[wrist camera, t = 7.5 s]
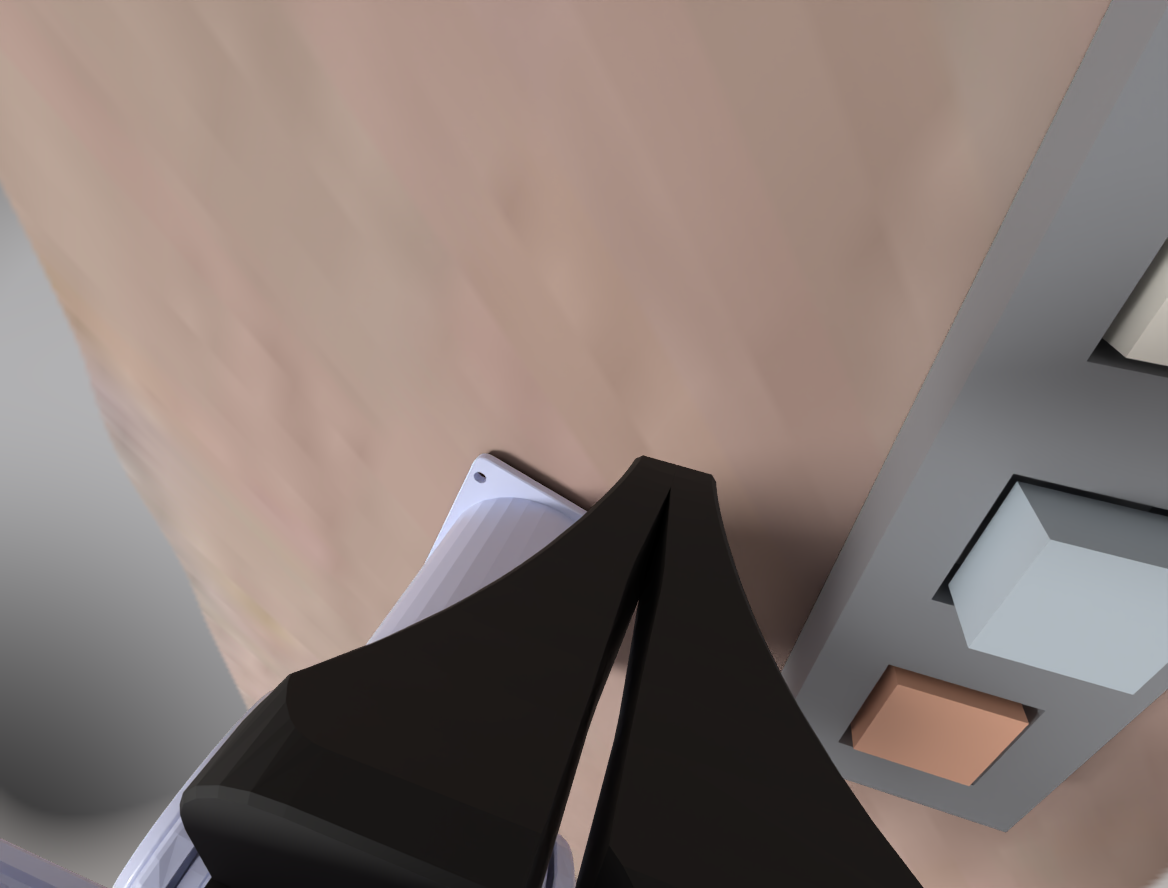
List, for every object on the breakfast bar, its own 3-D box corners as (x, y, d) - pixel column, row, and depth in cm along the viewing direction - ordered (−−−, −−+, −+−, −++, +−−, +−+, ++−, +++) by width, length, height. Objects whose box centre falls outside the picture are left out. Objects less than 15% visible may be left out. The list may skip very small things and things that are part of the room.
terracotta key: (953, 725, 23) (969, 786, 21) (847, 692, 24) (853, 748, 22) (1006, 662, 21) (1029, 723, 19) (887, 628, 21) (897, 684, 19)
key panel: (987, 768, 24) (1005, 832, 22) (767, 699, 26) (766, 753, 24) (1690, 37, 10) (1909, 30, 8) (1121, -20, 12) (1190, -38, 10)
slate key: (1093, 624, 17) (1133, 694, 15) (948, 584, 18) (968, 647, 16) (1187, 521, 15) (1247, 588, 13) (1017, 480, 16) (1050, 539, 14)
